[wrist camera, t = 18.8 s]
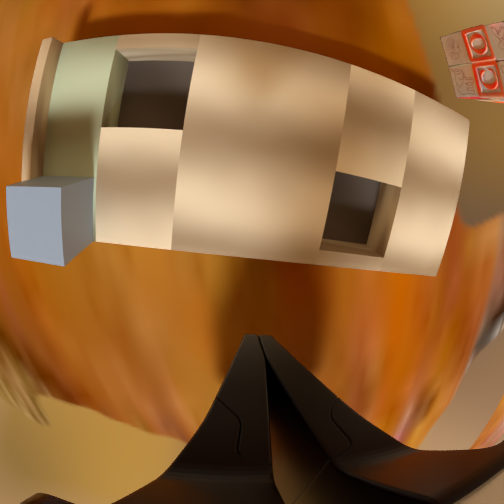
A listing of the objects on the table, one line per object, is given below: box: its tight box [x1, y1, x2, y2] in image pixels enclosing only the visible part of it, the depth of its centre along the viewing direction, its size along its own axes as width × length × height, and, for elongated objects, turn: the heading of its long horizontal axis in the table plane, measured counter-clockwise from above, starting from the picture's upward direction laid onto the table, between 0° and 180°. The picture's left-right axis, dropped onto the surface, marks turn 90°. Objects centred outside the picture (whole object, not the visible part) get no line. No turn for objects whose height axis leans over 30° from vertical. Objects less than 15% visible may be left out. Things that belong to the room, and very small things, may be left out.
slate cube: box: [6, 176, 94, 266], centre depth 13 cm, size 4×4×4 cm
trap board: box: [22, 33, 469, 276], centre depth 16 cm, size 13×30×4 cm, turn 81°
